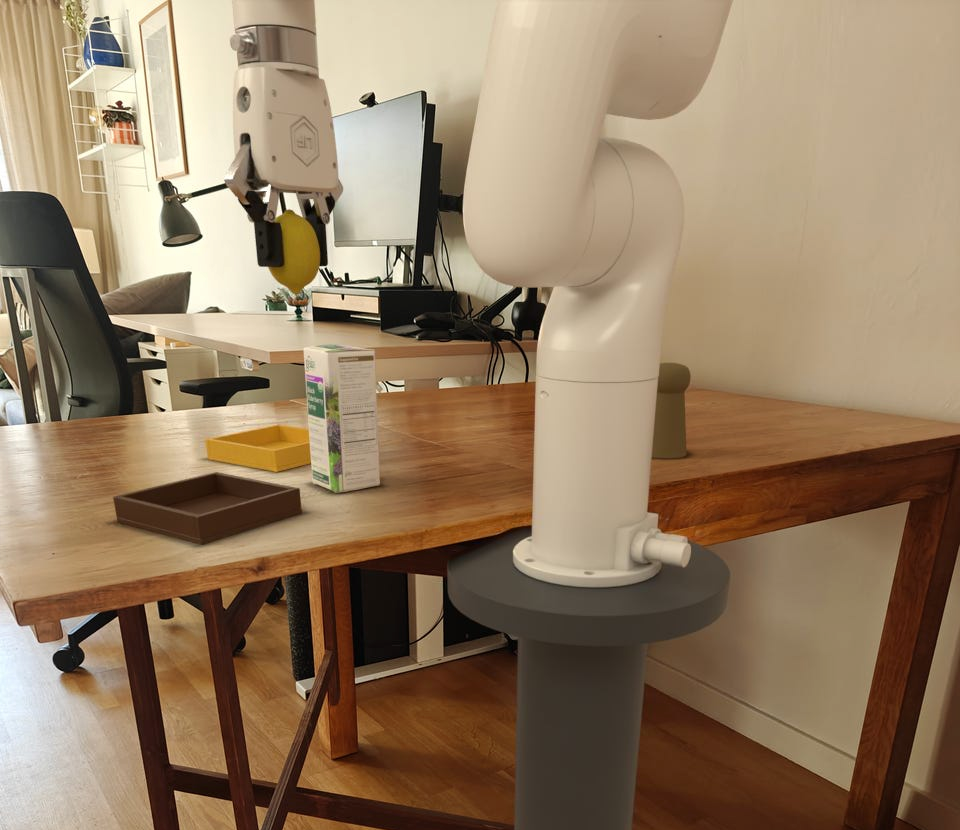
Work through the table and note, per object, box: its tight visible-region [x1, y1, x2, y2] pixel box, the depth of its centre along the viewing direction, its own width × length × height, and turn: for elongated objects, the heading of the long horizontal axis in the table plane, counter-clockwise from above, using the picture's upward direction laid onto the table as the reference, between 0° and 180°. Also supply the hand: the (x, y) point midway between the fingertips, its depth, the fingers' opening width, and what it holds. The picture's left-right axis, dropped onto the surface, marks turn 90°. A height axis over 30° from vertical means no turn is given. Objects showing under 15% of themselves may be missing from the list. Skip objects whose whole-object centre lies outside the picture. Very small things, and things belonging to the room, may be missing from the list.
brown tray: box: [112, 471, 303, 545], centre depth 83 cm, size 12×12×2 cm
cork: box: [652, 362, 692, 460], centre depth 108 cm, size 6×6×11 cm
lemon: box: [267, 208, 320, 295], centre depth 89 cm, size 6×6×8 cm
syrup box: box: [303, 344, 381, 494], centre depth 92 cm, size 6×6×14 cm
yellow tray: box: [204, 423, 311, 473], centre depth 108 cm, size 12×12×2 cm
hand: (293, 264), depth 89 cm, fingers closed on lemon, 5 cm apart
